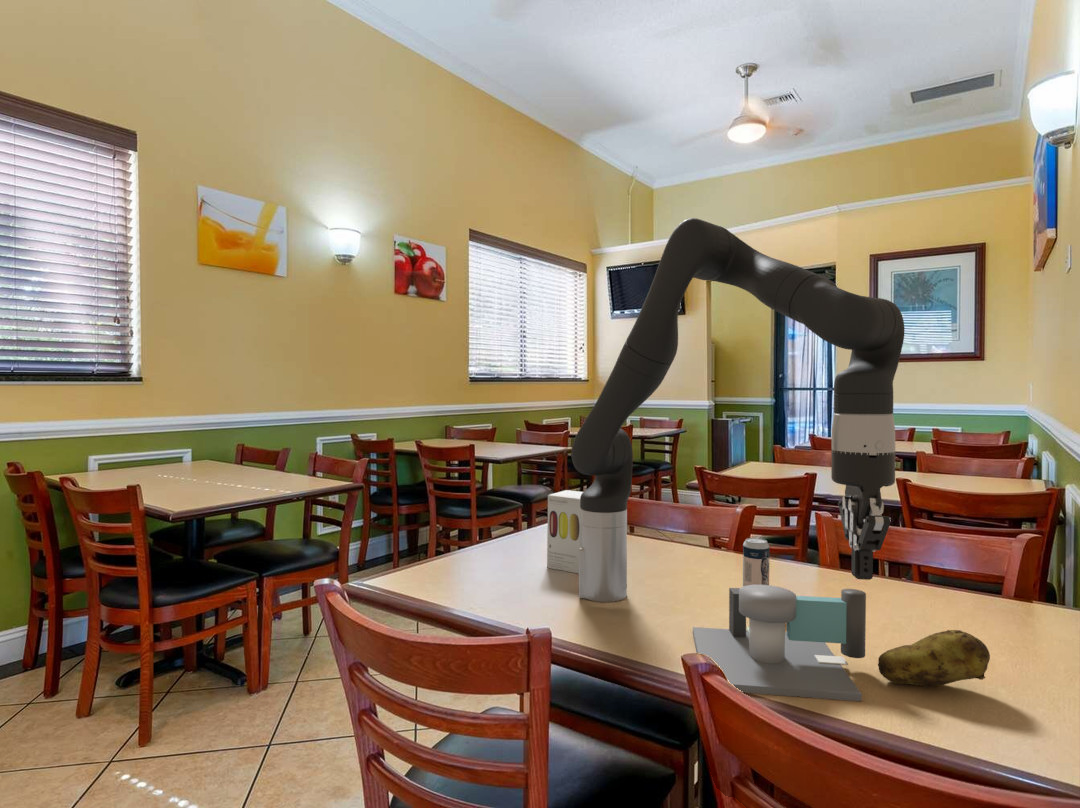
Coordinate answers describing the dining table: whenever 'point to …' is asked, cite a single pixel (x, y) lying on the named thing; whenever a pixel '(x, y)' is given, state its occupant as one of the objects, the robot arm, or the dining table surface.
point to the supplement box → (563, 531)
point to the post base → (777, 674)
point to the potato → (936, 660)
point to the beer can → (755, 562)
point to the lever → (810, 615)
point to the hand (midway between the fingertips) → (862, 577)
